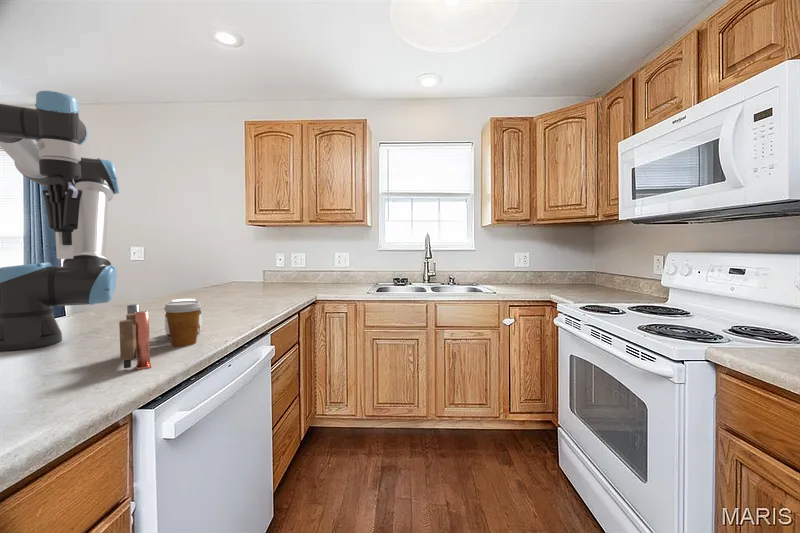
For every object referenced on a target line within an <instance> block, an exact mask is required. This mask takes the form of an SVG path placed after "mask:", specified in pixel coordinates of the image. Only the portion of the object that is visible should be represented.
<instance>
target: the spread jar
mask: <svg viewBox="0 0 800 533" xmlns="http://www.w3.org/2000/svg"><path fill="white" fill-rule="evenodd" d="M178 301H197V300H196V298H179V299H178V298H177V299H176V298H175V299H172V300H170V302H178ZM202 328H203V316H202V309H200V315H199V323H198V332H197V336H198V335H199V334H200V333H201V330H202ZM164 331H165V334H166V336H167V337H169V338H170V333H169V327H168V321H167V315H166V313H165V315H164Z"/></svg>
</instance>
